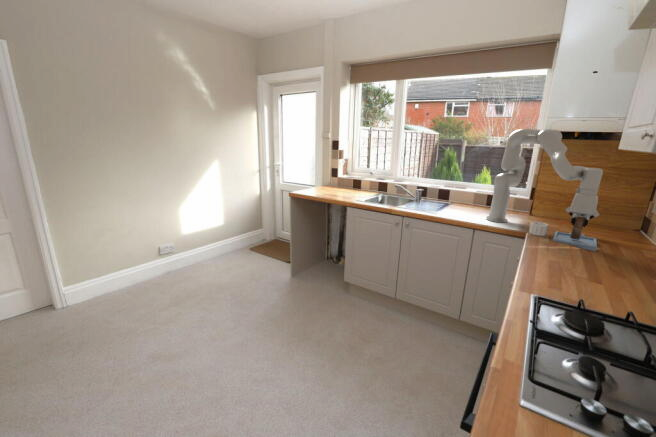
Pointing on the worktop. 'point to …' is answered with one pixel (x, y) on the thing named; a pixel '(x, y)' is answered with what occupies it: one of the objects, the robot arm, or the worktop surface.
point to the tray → (576, 241)
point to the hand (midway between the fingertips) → (578, 225)
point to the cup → (538, 228)
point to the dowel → (577, 227)
